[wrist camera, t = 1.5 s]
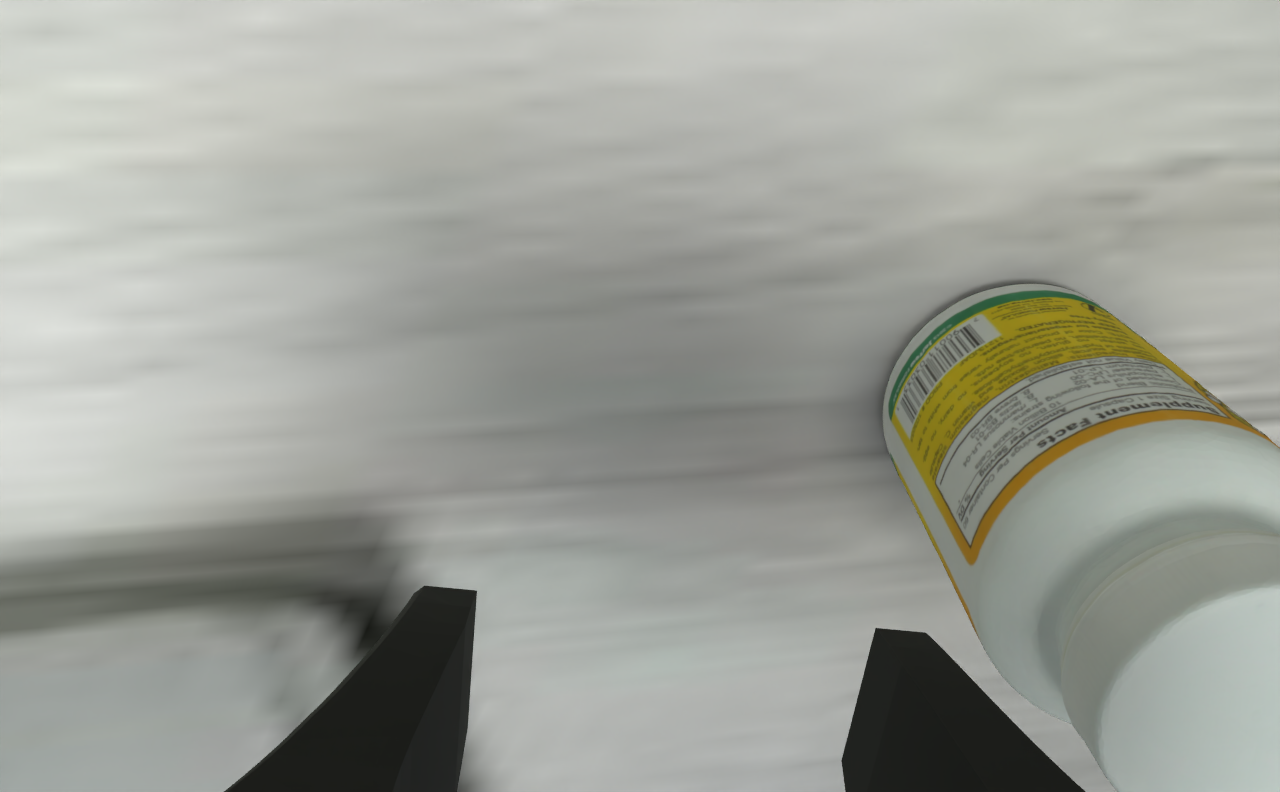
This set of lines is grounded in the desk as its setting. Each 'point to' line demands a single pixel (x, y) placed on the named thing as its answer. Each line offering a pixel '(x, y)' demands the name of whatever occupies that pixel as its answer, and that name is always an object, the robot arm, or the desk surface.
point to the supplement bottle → (1101, 532)
